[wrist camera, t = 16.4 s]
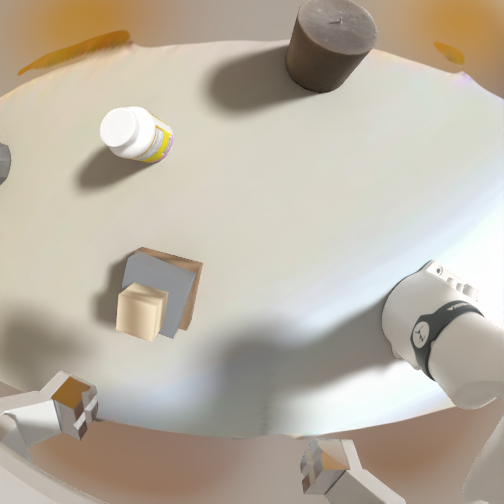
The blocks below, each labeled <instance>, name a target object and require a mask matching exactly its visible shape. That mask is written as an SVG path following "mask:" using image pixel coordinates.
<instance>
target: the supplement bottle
mask: <svg viewBox="0 0 504 504" xmlns="http://www.w3.org/2000/svg"><path fill="white" fill-rule="evenodd" d="M100 137H101V139H102V141H103V142H104V143H105V144H106V145H107V146H108V147H109V148H110V150H111V151H112V152H113V153H114V154H115V155H117V156H119V157H122V158H127V159H133V160H138V161H143V162H149V163H153V162H157V161H160V160H162V159H163V158H164V157H166V156H167V155H168V153H169V152H170V150H171V148H172V146H173V140H174V138H173V132H172V130H171V128H170V127H169V126H168V125H167V124H166V123H165V122H163V121H162V120H160V119H159V118H157V117H156V116H154V115H152V114H151V113H149V112H148V111H146V110H145V109H143V108H140V107H127V108H116V109H113V110H111V111H110V112H109V113H108V114H107V115H106V116H105V117H104V119H103V120H102V123H101V126H100Z"/></svg>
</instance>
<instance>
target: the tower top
mask: <svg viewBox="0 0 504 504" xmlns="http://www.w3.org/2000/svg"><path fill="white" fill-rule="evenodd" d="M195 275H196V273H194V272H191V271H188V270H186V269H183V268H180V267H178V266H175V265H173V264H170V263H167V262H165V261H162V260H160V259H157V258H155V257H152V256H150V255H147V254H145V253H142V252H140V251H139V252H137V253H135V254H133V255H132V256H130V257H128V260H127V264H126V268H125V273H124V277H123V282H122V286H121V291H120V293H121V292H122V291H124V290H125V289H126V288H127V287H129V286H130V285H131V284H133V283H134V282H136V283H139V284H142V285H145V286H149V287H152V288H156V289H159V290H163V291H166V292H169V293H168V299H167V305H166V312H165V319H164V325H163V327H162V328H161V330H160V331H159V334H162V335H164V336H167V337H169V338H172V339H173V338H174V336H175V334H176V332H177V330H178V328H179V327H180V323H181V320H182V317H183V313H184V310H185V307H186V304H187V301H188V297H189V294H190V291H191V288H192V285H193V282H194V279H195ZM117 308H118V307H117ZM116 315H117V312H116Z"/></svg>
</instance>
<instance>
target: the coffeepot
mask: <svg viewBox="0 0 504 504" xmlns="http://www.w3.org/2000/svg"><path fill="white" fill-rule="evenodd" d="M10 164H11V155H10V151H9V148H8V146H7V145H4V144H1V143H0V184H1V183H3V182H4V181H5V179H6V178H7V176H8V173H9V170H10Z"/></svg>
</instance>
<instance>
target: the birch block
mask: <svg viewBox="0 0 504 504" xmlns="http://www.w3.org/2000/svg"><path fill="white" fill-rule="evenodd" d="M168 293H169V292H166V291H163V290H159V289H156V288H152V287H149V286H145V285H142V284H139V283H136V282H134V283H133V284H131V285H130V286H129V287H127V288H126V289H125V290H124V291H122V292H121V293H120V294H119V296H118V308H117V323H116V330H118V331H120V332H123V333H126V334H129V335H132V336H135V337H138V338H141V339H144V340H147V341H150V342H152V341H153V340H154V338H155V337H156V335H157V334H158V333H159V331H160V330H161V328H162V327H163V325H164V319H165V312H166V305H167V299H168Z"/></svg>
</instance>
